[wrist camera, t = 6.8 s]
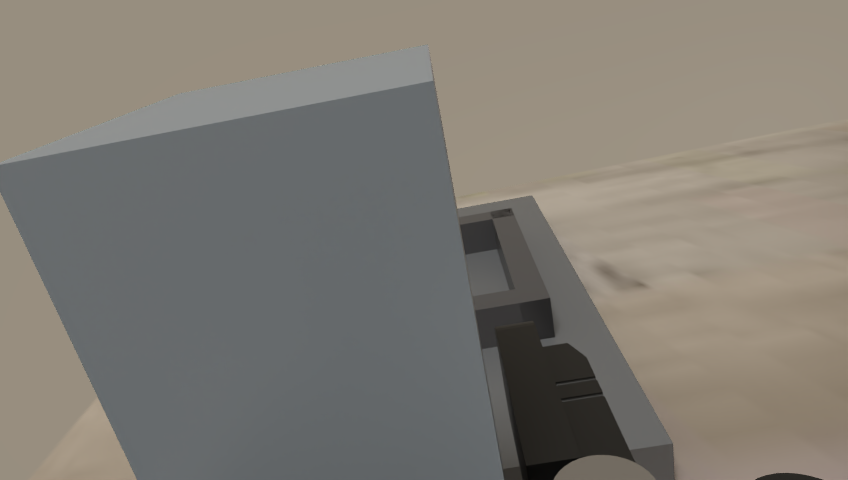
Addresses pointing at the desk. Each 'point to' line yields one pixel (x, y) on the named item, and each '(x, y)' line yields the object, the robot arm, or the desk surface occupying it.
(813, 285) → the desk surface
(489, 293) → the power dock
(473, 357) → the plug
